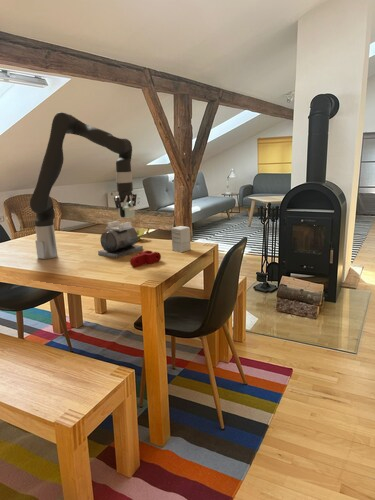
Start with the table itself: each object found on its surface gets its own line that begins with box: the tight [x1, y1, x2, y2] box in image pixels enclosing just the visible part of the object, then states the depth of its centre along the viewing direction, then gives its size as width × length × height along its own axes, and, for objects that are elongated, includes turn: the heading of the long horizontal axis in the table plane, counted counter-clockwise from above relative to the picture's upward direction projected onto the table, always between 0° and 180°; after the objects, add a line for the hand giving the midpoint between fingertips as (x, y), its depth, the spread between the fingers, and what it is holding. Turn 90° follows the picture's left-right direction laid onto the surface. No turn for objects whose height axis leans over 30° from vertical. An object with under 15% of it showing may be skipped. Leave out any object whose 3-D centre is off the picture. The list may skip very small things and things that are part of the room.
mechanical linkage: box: [129, 249, 162, 268], centre depth 188 cm, size 16×7×5 cm, turn 140°
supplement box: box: [171, 225, 192, 253], centre depth 209 cm, size 7×7×13 cm
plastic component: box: [135, 227, 145, 241], centre depth 237 cm, size 20×7×10 cm
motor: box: [97, 220, 144, 259], centre depth 209 cm, size 20×14×16 cm
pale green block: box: [117, 205, 136, 219], centre depth 191 cm, size 5×8×5 cm, turn 55°
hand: (126, 216), depth 191 cm, fingers closed on pale green block, 5 cm apart
